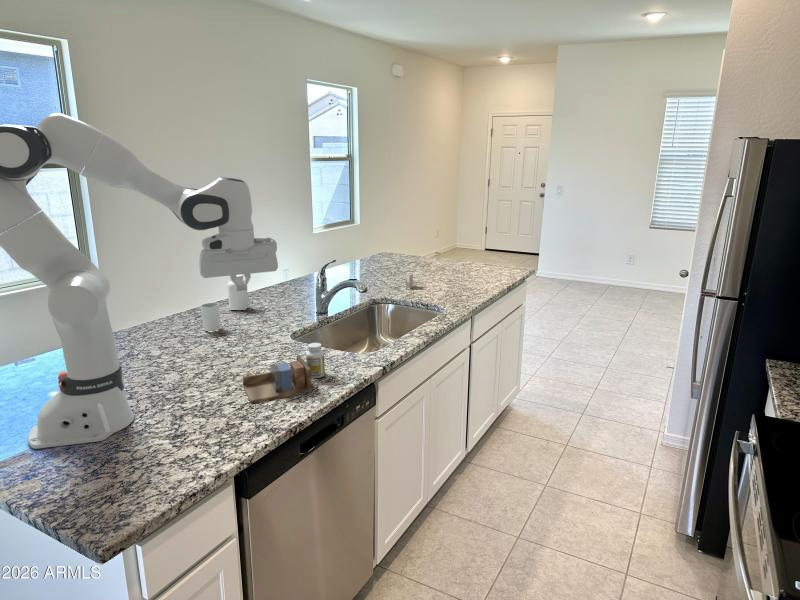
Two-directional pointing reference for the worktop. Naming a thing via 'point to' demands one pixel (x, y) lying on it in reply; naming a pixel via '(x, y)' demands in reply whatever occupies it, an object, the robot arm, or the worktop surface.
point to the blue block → (285, 376)
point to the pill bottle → (237, 295)
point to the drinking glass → (210, 316)
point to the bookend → (275, 377)
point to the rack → (262, 389)
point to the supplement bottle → (315, 360)
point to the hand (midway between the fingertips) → (241, 290)
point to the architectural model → (409, 281)
